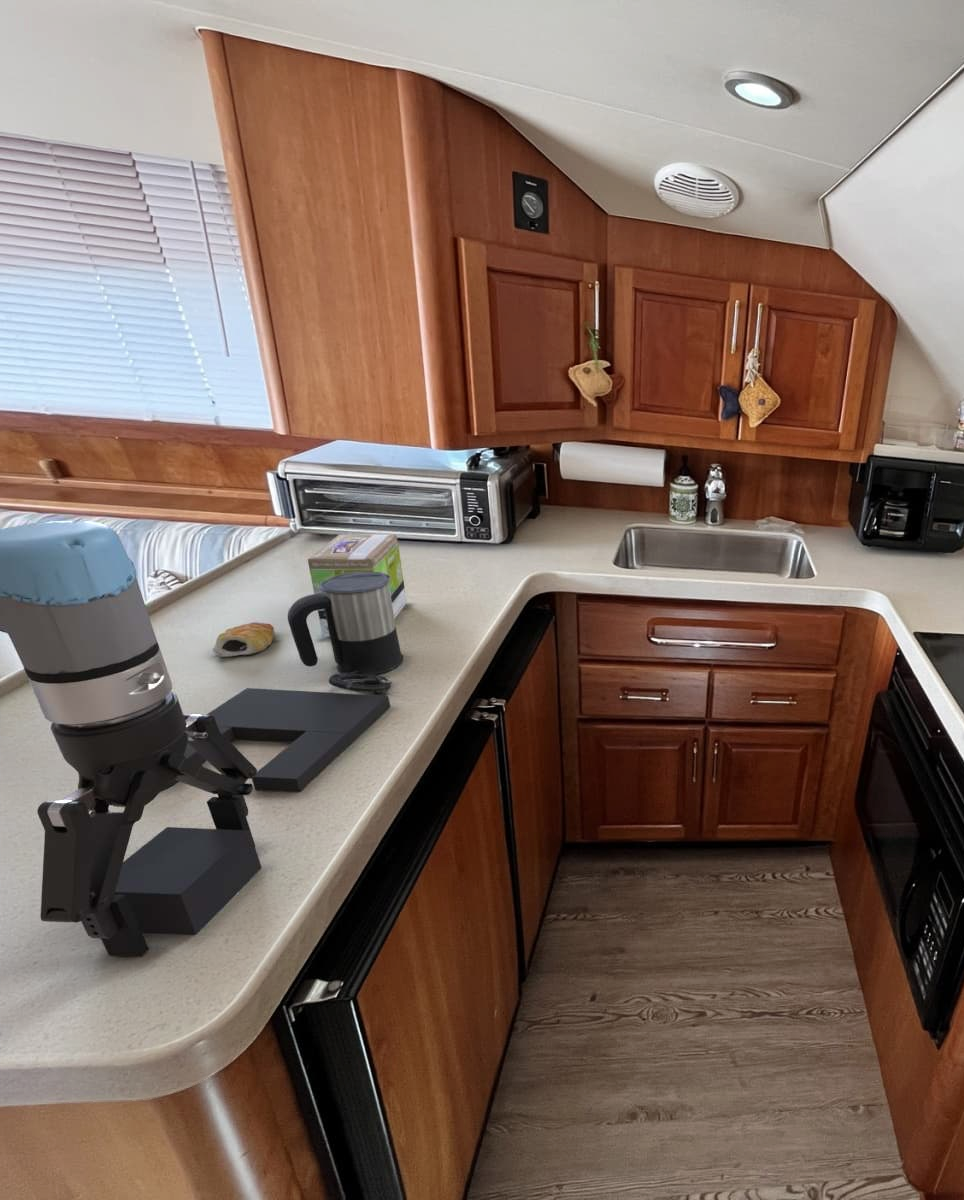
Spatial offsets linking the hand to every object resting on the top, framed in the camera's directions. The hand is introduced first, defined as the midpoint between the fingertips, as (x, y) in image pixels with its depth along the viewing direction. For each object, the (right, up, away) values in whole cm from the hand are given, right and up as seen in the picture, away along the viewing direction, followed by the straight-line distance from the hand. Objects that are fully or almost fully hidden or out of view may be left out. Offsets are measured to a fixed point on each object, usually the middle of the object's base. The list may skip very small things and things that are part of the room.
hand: (189, 895), depth 62 cm
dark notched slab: (-11, +10, +23) cm, 27 cm away
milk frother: (-9, +17, +39) cm, 44 cm away
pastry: (-33, +21, +45) cm, 59 cm away
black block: (0, 0, 0) cm, 0 cm away
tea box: (-22, +25, +57) cm, 66 cm away
